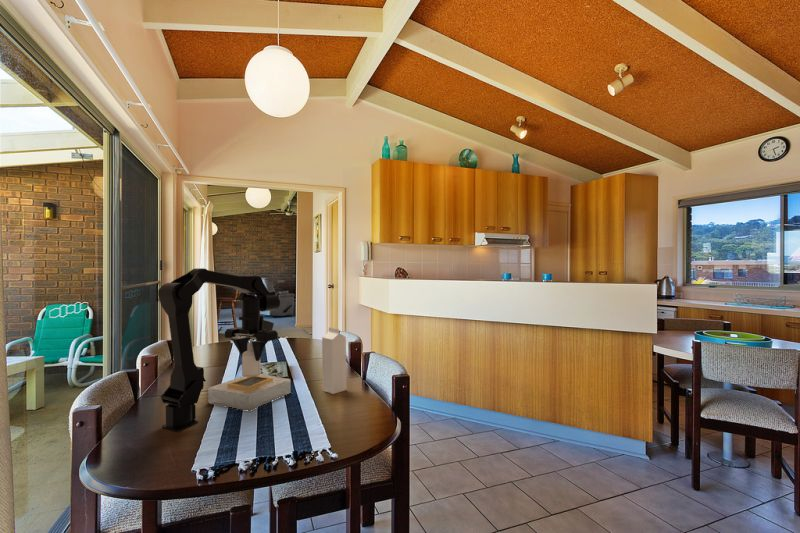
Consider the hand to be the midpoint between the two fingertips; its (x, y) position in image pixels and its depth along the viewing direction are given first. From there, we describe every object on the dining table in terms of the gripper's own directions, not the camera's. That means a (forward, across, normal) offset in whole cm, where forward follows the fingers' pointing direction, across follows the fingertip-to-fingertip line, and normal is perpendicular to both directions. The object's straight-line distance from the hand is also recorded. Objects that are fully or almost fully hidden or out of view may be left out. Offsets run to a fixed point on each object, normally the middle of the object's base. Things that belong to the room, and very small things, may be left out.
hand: (251, 359), depth 125 cm
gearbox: (+13, 0, -3) cm, 13 cm away
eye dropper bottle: (+5, 0, 0) cm, 5 cm away
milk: (+13, -21, -18) cm, 30 cm away
